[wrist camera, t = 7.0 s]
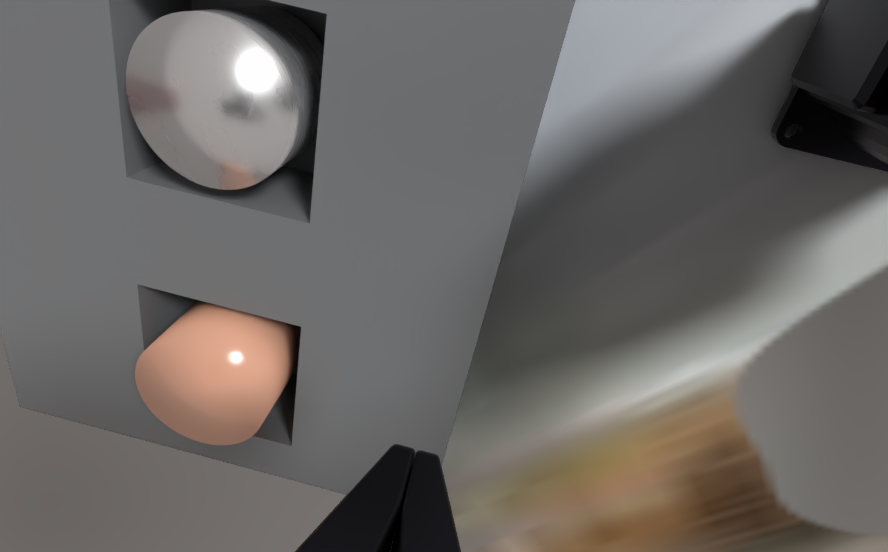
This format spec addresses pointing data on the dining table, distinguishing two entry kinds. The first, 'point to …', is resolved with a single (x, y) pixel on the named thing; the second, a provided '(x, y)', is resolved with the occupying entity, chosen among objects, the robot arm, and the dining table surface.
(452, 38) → the block
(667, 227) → the dining table surface
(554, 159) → the dining table surface
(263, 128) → the grey plunger
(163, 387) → the terracotta plunger
